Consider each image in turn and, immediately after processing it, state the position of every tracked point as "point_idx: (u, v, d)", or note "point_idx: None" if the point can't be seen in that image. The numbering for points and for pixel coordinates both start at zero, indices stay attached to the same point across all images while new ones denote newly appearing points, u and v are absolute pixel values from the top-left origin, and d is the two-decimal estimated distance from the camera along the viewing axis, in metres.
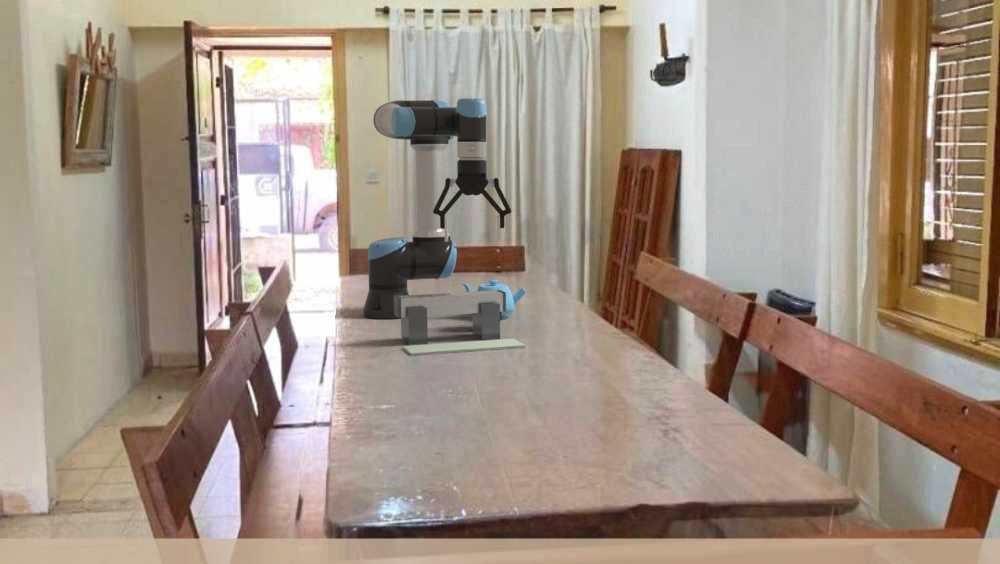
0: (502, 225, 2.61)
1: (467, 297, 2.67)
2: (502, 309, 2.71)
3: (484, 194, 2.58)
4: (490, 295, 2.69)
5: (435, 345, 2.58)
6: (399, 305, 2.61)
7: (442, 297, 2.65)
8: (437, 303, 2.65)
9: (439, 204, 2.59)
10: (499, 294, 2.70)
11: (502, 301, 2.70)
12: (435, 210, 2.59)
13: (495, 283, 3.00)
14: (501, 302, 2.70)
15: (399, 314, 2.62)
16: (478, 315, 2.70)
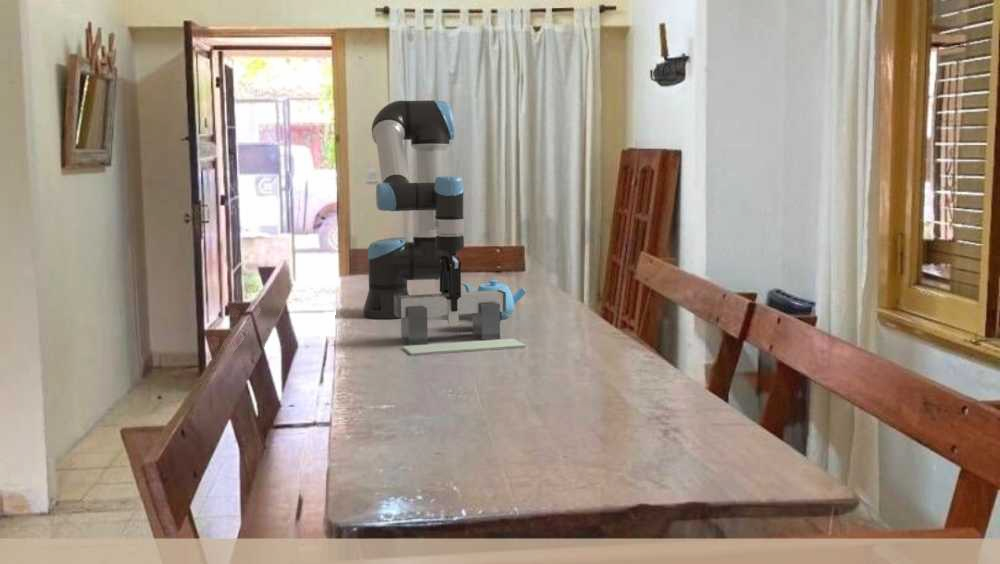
0: (451, 308, 2.65)
1: (467, 297, 2.67)
2: (502, 309, 2.71)
3: (445, 271, 2.65)
4: (490, 295, 2.69)
5: (435, 345, 2.58)
6: (399, 305, 2.61)
7: (442, 297, 2.65)
8: (437, 303, 2.65)
9: (440, 282, 2.72)
10: (499, 294, 2.70)
11: (502, 301, 2.70)
12: (440, 288, 2.73)
13: (495, 283, 3.00)
14: (501, 302, 2.70)
15: (399, 314, 2.62)
16: (478, 315, 2.70)
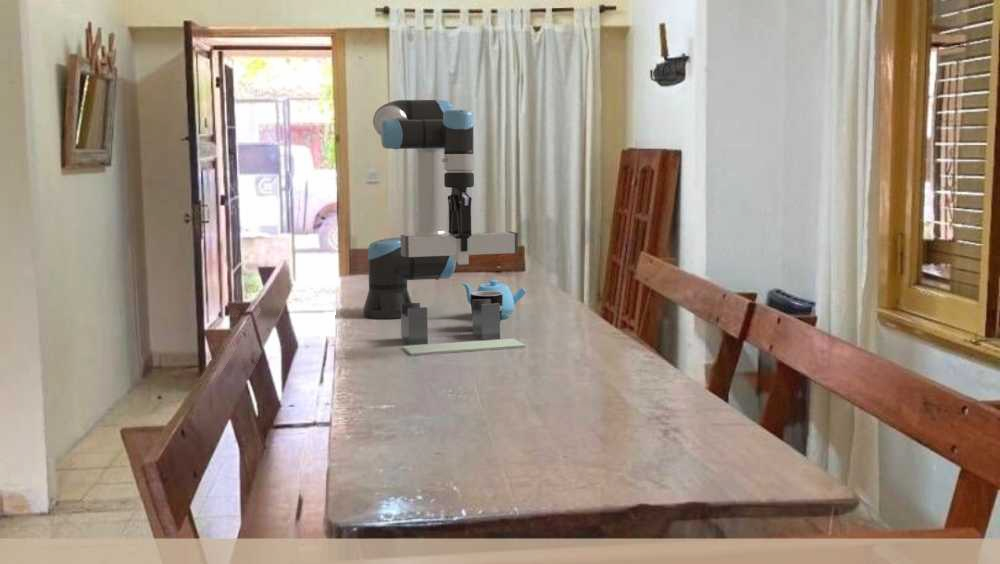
0: (461, 248, 2.53)
1: (478, 237, 2.55)
2: (514, 250, 2.59)
3: (455, 210, 2.53)
4: (501, 235, 2.57)
5: (435, 345, 2.58)
6: (406, 244, 2.50)
7: (451, 236, 2.53)
8: (446, 242, 2.53)
9: (449, 223, 2.61)
10: (511, 234, 2.58)
11: (514, 242, 2.58)
12: (449, 230, 2.61)
13: (495, 283, 3.00)
14: (513, 243, 2.58)
15: (407, 254, 2.50)
16: (478, 315, 2.70)
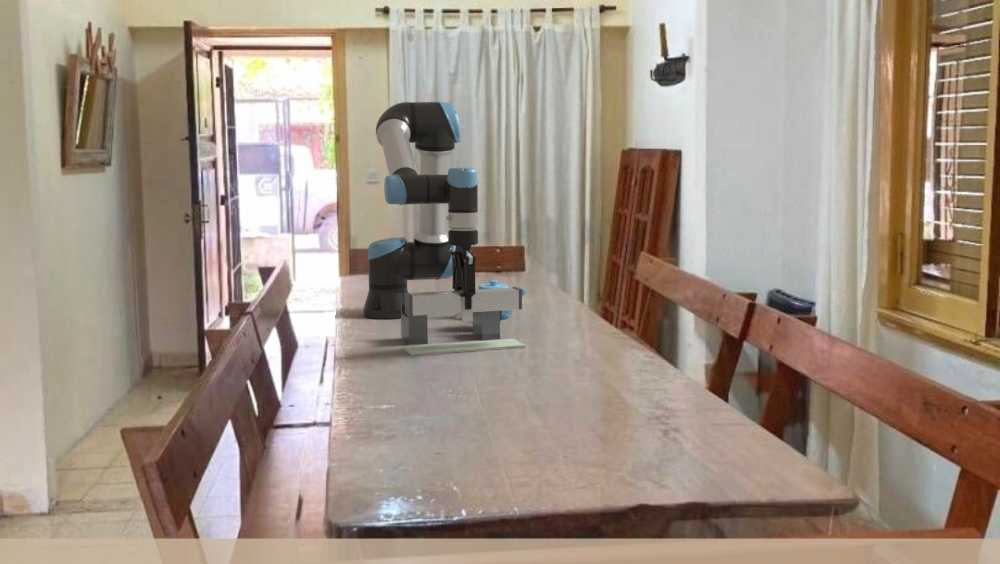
0: (465, 306, 2.52)
1: (482, 294, 2.55)
2: (518, 307, 2.58)
3: (459, 267, 2.52)
4: (505, 292, 2.56)
5: (435, 345, 2.58)
6: (410, 303, 2.49)
7: (455, 294, 2.52)
8: (450, 300, 2.52)
9: (453, 279, 2.60)
10: (515, 291, 2.57)
11: (519, 298, 2.58)
12: None
13: (495, 283, 3.00)
14: (517, 300, 2.58)
15: (411, 312, 2.49)
16: (478, 315, 2.70)
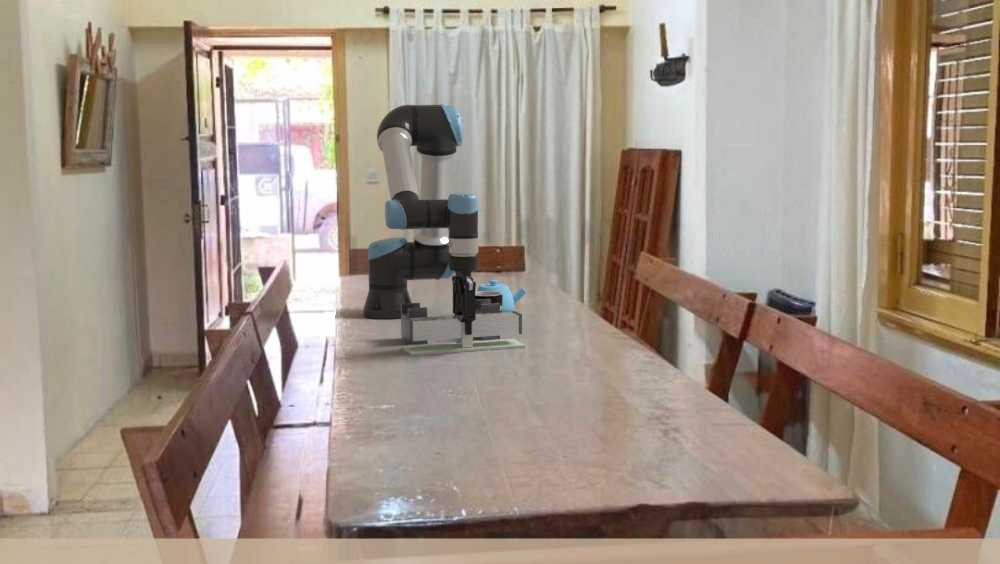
0: (465, 331, 2.53)
1: (482, 320, 2.55)
2: (518, 332, 2.59)
3: (459, 293, 2.53)
4: (505, 317, 2.57)
5: (435, 345, 2.58)
6: (411, 328, 2.50)
7: (456, 320, 2.53)
8: (450, 325, 2.53)
9: (453, 303, 2.61)
10: (515, 316, 2.58)
11: (518, 323, 2.59)
12: (453, 310, 2.61)
13: (495, 283, 3.00)
14: (517, 324, 2.59)
15: (411, 338, 2.50)
16: None
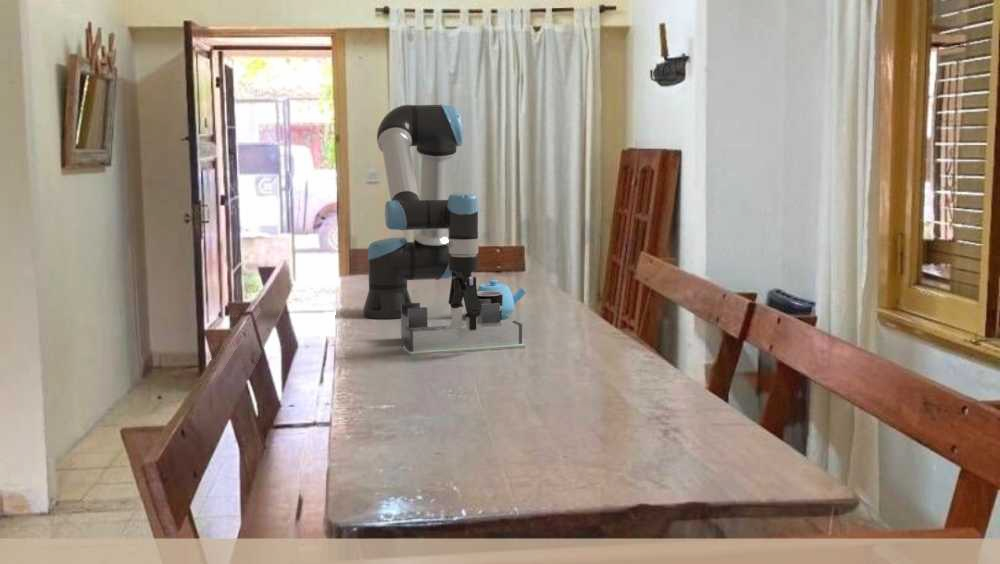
0: (470, 327, 2.49)
1: (482, 329, 2.56)
2: (518, 341, 2.59)
3: (460, 292, 2.52)
4: (506, 327, 2.58)
5: None
6: (411, 338, 2.50)
7: (456, 330, 2.54)
8: (450, 336, 2.53)
9: (450, 295, 2.63)
10: (515, 326, 2.58)
11: (519, 333, 2.59)
12: (449, 300, 2.65)
13: (495, 283, 3.00)
14: (517, 334, 2.59)
15: (411, 348, 2.50)
16: None
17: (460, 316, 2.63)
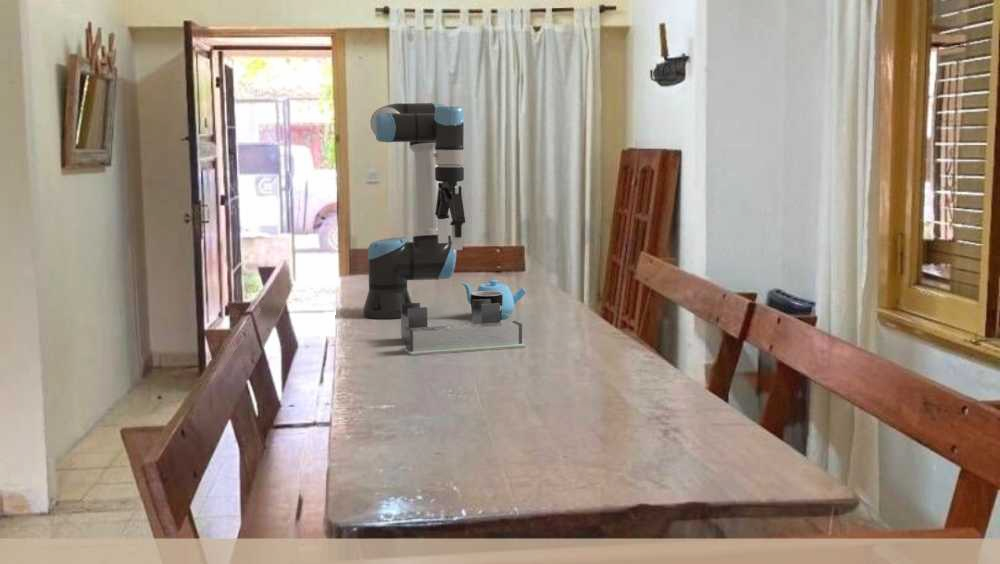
0: (455, 234, 2.58)
1: (482, 329, 2.56)
2: (518, 341, 2.59)
3: (446, 201, 2.61)
4: (506, 327, 2.58)
5: None
6: (411, 338, 2.50)
7: (456, 330, 2.54)
8: (450, 336, 2.53)
9: (436, 207, 2.72)
10: (515, 326, 2.58)
11: (519, 333, 2.59)
12: (435, 212, 2.74)
13: (495, 283, 3.00)
14: (517, 334, 2.59)
15: (411, 348, 2.50)
16: (478, 315, 2.70)
17: (446, 227, 2.72)
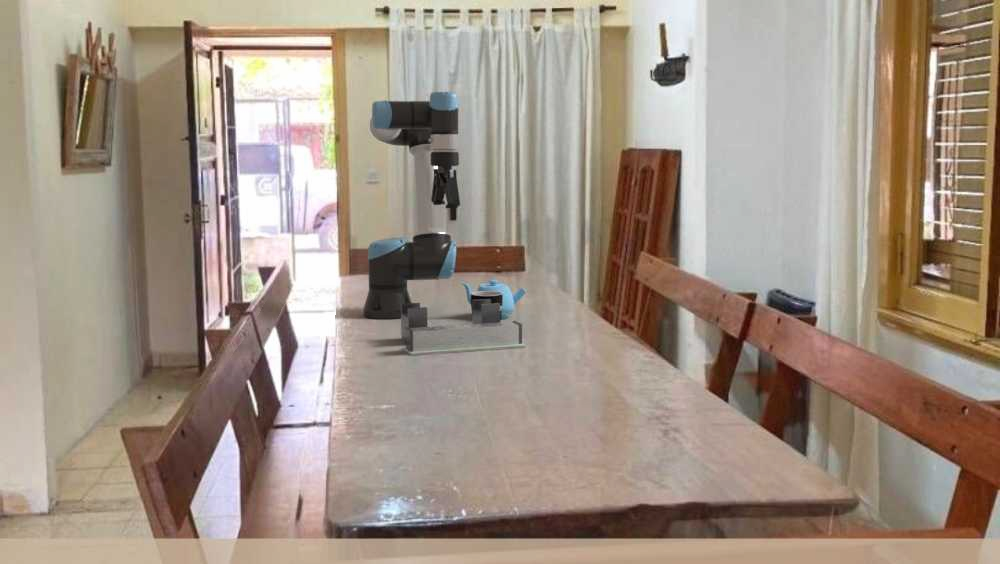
0: (450, 217, 2.61)
1: (482, 329, 2.56)
2: (518, 341, 2.59)
3: (442, 185, 2.64)
4: (506, 327, 2.58)
5: None
6: (411, 338, 2.50)
7: (456, 330, 2.54)
8: (450, 336, 2.53)
9: (432, 193, 2.76)
10: (515, 326, 2.58)
11: (519, 333, 2.59)
12: (431, 198, 2.77)
13: (495, 283, 3.00)
14: (517, 334, 2.59)
15: (411, 348, 2.50)
16: (478, 315, 2.70)
17: (442, 212, 2.75)
